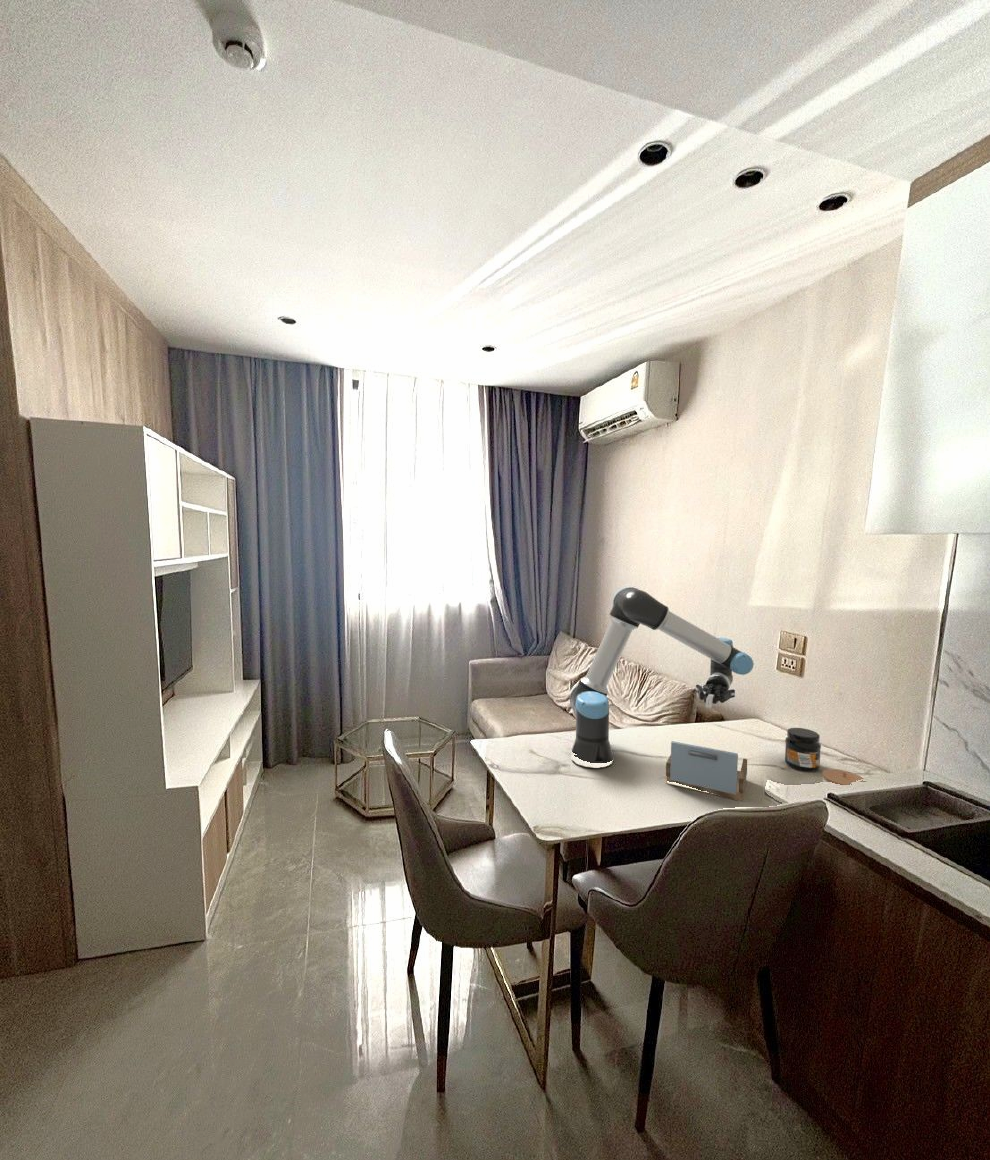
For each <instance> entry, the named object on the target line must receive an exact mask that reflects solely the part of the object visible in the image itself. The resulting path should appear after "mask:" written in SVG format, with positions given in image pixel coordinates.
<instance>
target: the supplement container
mask: <svg viewBox="0 0 990 1160" xmlns="http://www.w3.org/2000/svg"><path fill="white" fill-rule="evenodd" d="M786 735H787V736H786V737H785V739H784V740H785V746H784V747H785V748H784V749H785V753H784V754H785V756H784V762H785V764H786V765H787V766H789V767H790V768H792V769H795V770H797V771H802V772H806V773H807V772H808V773H811V772H816V771H819V770H820V768H821V748H822V745H821V743H820V740H821V739H820V737H821V735H820V734H819V733H818V732H817V731H814V730H811V729H808V728H803V727H790V728H788V729H787V730H786Z"/></svg>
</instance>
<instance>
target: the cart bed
mask: <svg viewBox="0 0 990 1160" xmlns="http://www.w3.org/2000/svg"><path fill="white" fill-rule="evenodd" d="M670 770H671V754H670V755H669V756H668V758H667V761H666V763H665V776H666V782H667V781H669V782H676V783H679V784H682V785H686V786H689V787H692V788H696V789H698V790H701V791H707V792H709V793H713V794H715V795H714V796H717V795H719V796H718V797H721V796H722V798H726V799H730V800H734V801H738V802H743V798H744V793H745V788H746V783H747V775H748V758H742V763H741V768H740V770H737V794H736V795H735V794H731V793H726V792H722V791H718V790H713V789H709V788H705V787H700V786H696V785H692V784H687V783H683V782H679V781H674V780H670Z"/></svg>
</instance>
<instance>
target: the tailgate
mask: <svg viewBox="0 0 990 1160" xmlns="http://www.w3.org/2000/svg"><path fill="white" fill-rule="evenodd" d="M670 755H671V770H670V780H674V781H679V782H683V783H687V784H692V785H696V786H700V787H705V788H709V789H713V790H718V791H722V792H726V793H731V794H735V795H736V794H737V771H738V767H739V766H738V765H739V761H738V760H739V753H736V752H733V751H732V752H731V751H725V750H721V749H715V748H711V747H706V746H700V745H696V744H695V745H694V744H690V743H684V742H680V741H679V742H678V741H673V740H671V742H670Z"/></svg>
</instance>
